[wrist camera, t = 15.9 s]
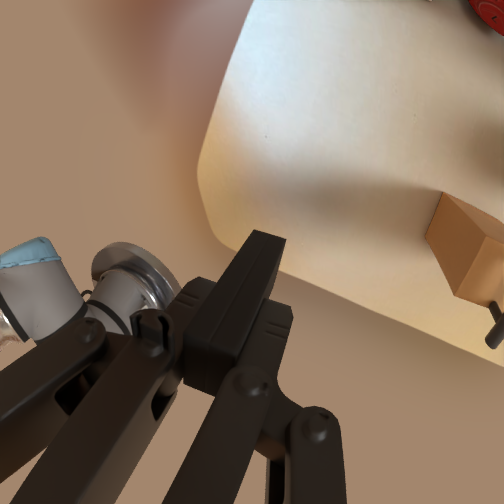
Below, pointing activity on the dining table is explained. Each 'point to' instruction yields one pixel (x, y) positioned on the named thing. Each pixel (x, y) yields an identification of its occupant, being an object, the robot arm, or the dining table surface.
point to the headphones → (490, 13)
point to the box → (471, 257)
